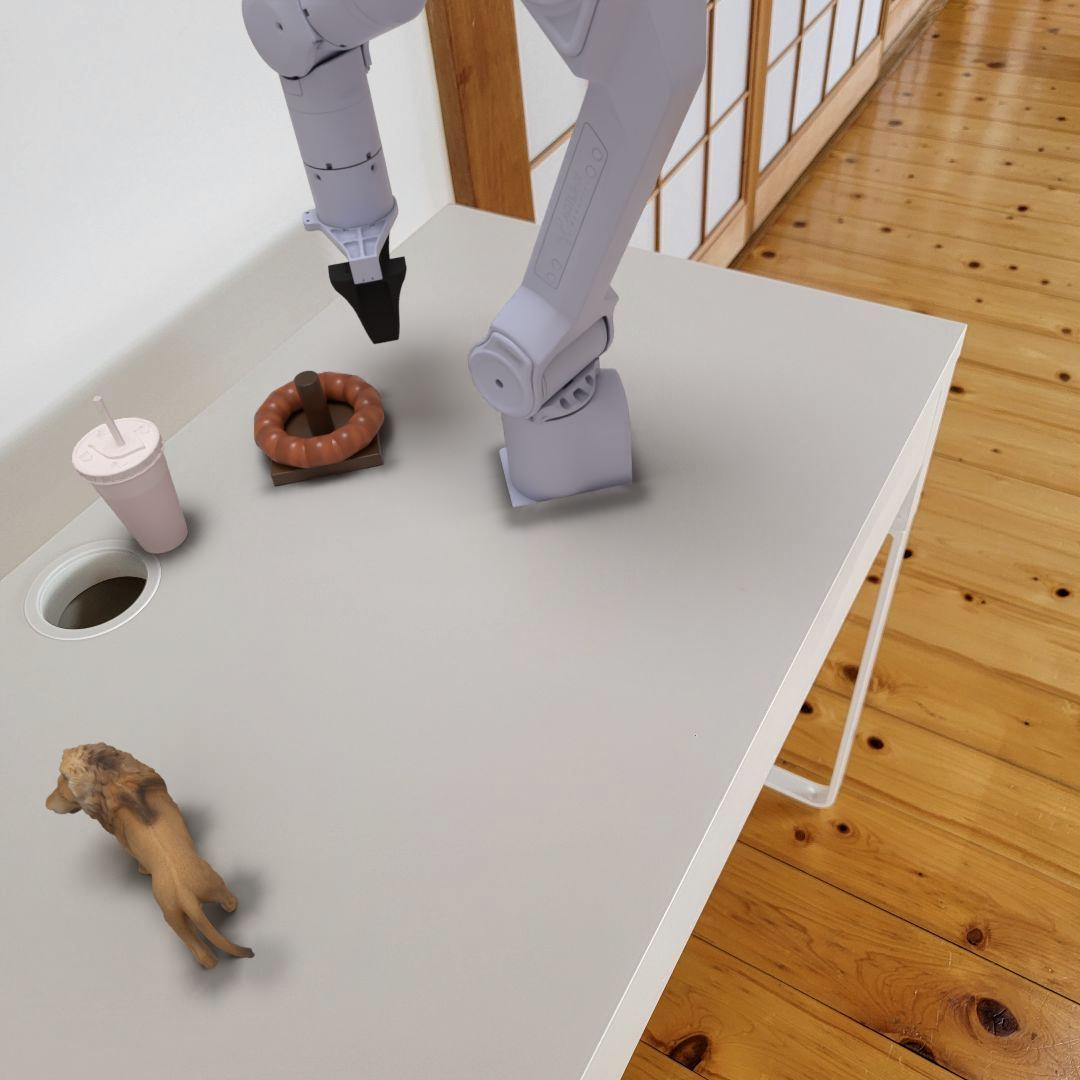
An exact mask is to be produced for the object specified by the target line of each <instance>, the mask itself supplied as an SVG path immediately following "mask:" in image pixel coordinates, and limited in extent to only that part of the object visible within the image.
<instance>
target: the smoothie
mask: <svg viewBox="0 0 1080 1080" xmlns="http://www.w3.org/2000/svg"><path fill="white" fill-rule="evenodd" d="M92 400H93V403H94V404H95V407H96V408H97V410H98V412H99V414H100V416H101V418H102V420H103V421H104V423H101V424H99V425H98V426H95V427H94V428H93V429H91V430H89V431H88V432H87V433H86V434H84V435H83V436H82V437H81V438H80V439H79V440H78V442H77V443H76V444H75V445H74V448H73V450H72V453H71V462H72V465H73V467H74V468H75V471H76V474H77V475H78V477H79V478H80V479H81V480H82V481H84V482H86V483H88V484H90V485H91V486H92V487H93V489H94V490H95V491H96V492H97V493H98V494H99V496H100V497H101V498H102V500H103V501H104V502H105V503H106V505H108V507H109V508H110V510H111V511H112V512H113V514H115V516H116V517H117V518H118V519H119V520H120V522H121V523H122V525H123V526H124V527H125V528H126V529H127V531H128V532H129V533H130V534H131V535H132V537H133V538H134V539H135V540H136V542H137V543H138V544H139V546H140V547H141V548H142V549H143V550H144V551H145V552H147V553H148V554H149V553H150V554H154V555H155V554H157V555H159V554H165V553H169V552H170V551H172V550H175V549H176V548H178V547H179V546H180V545H182V544H183V542H184V541H185V540H186V538H187V536H188V533H189V529H188V526H187V525H188V524H187V523H186V522H187V521H186V519H185V515H184V513H183V510H182V505H181V503H180V500H179V497H178V494H177V490H176V488H175V484H174V481H173V478H172V475H171V471H170V468H169V465H168V461H167V458H166V456H165V453H164V450H165V440H164V437H163V435H162V433H161V432H160V430H159V428H158V426H157V425H156V424H155V423H154V422H152V421H151V420H148V419H145V418H141V417H122V418H121V417H120V418H117V419H114V418H113V417H112V414H111V413H110V410H109V409H108V407H107V406H106V404H105V402H104V400H103V397H102V396H101V395H96V396H94V397H93V399H92Z"/></svg>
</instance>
